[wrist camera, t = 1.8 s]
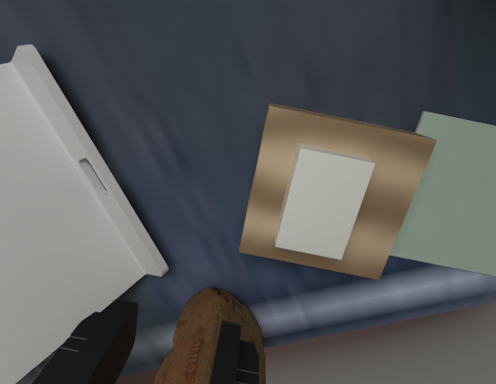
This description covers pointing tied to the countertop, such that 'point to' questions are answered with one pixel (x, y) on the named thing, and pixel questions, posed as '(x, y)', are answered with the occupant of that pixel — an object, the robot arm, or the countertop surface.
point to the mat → (454, 198)
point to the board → (375, 199)
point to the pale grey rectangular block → (322, 201)
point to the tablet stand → (56, 221)
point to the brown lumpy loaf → (206, 337)
